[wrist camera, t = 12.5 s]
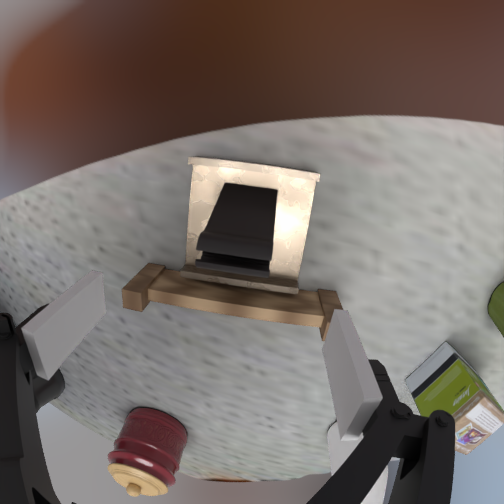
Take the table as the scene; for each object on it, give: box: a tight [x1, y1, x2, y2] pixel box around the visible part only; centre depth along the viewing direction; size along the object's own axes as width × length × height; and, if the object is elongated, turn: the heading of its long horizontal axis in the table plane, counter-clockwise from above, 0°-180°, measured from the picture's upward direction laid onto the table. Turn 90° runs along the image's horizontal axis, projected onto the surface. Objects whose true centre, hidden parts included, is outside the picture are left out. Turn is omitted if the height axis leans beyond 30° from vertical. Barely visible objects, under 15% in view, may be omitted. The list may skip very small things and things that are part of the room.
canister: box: [108, 408, 187, 496], centre depth 42 cm, size 13×13×18 cm
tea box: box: [405, 342, 504, 455], centre depth 35 cm, size 15×10×15 cm, turn 54°
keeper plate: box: [180, 156, 320, 295], centre depth 34 cm, size 14×14×3 cm
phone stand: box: [195, 183, 278, 278], centre depth 29 cm, size 9×6×12 cm, turn 172°
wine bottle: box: [327, 422, 388, 504], centre depth 32 cm, size 10×10×30 cm
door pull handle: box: [122, 263, 343, 341], centre depth 34 cm, size 25×2×8 cm, turn 83°
